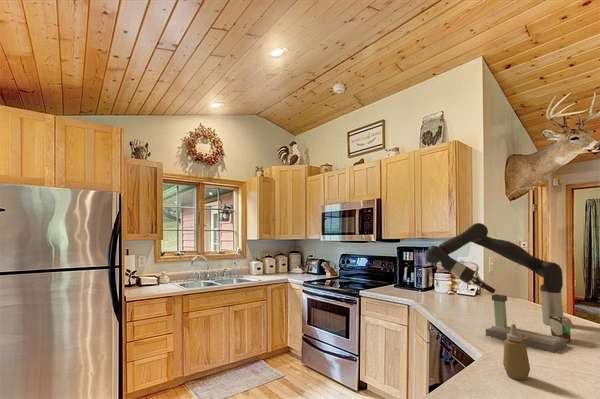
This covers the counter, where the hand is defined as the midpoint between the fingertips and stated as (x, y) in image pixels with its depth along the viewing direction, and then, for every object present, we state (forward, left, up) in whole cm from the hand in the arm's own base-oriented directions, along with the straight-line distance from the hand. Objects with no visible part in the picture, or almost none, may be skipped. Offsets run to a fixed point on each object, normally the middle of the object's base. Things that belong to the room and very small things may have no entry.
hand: (494, 291), depth 164 cm
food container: (-20, +20, -22) cm, 36 cm away
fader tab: (-4, 0, -18) cm, 18 cm away
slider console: (-4, +10, -21) cm, 24 cm away
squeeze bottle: (+40, +27, -21) cm, 53 cm away
